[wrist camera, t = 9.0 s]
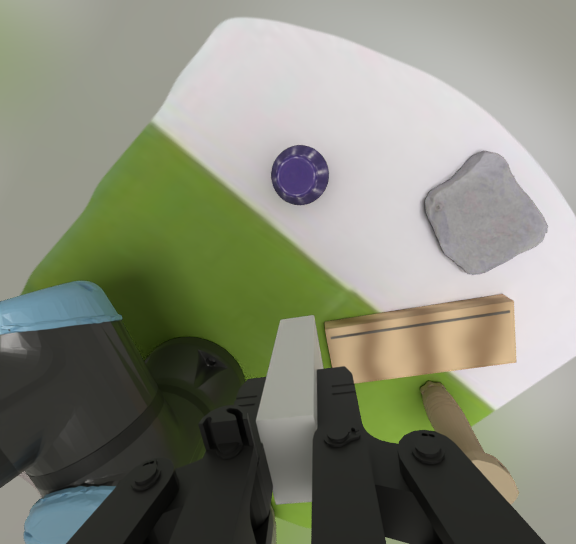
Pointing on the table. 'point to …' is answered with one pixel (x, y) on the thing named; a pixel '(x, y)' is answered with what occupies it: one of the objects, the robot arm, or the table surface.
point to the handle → (465, 437)
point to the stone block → (484, 215)
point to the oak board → (425, 339)
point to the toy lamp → (300, 175)
